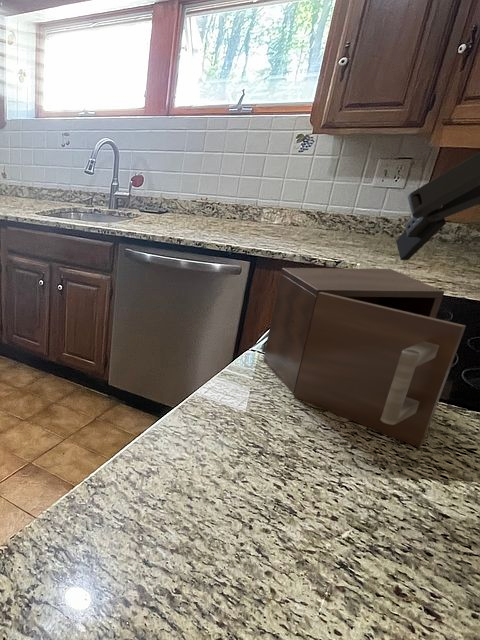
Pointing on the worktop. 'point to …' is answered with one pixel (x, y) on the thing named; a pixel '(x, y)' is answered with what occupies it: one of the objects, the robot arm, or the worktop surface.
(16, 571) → the worktop surface
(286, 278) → the cupboard
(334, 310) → the door
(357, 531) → the worktop surface
